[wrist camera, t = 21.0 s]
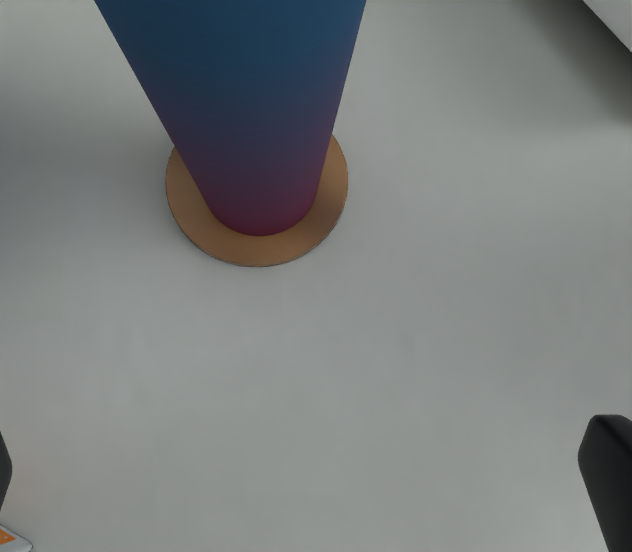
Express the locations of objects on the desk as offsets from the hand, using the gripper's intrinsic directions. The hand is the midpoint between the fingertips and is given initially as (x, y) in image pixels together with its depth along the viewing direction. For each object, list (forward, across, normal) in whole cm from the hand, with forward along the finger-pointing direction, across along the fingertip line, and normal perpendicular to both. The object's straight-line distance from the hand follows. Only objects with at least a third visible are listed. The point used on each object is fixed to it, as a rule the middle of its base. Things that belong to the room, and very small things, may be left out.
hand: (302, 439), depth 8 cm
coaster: (+17, +2, +2) cm, 17 cm away
